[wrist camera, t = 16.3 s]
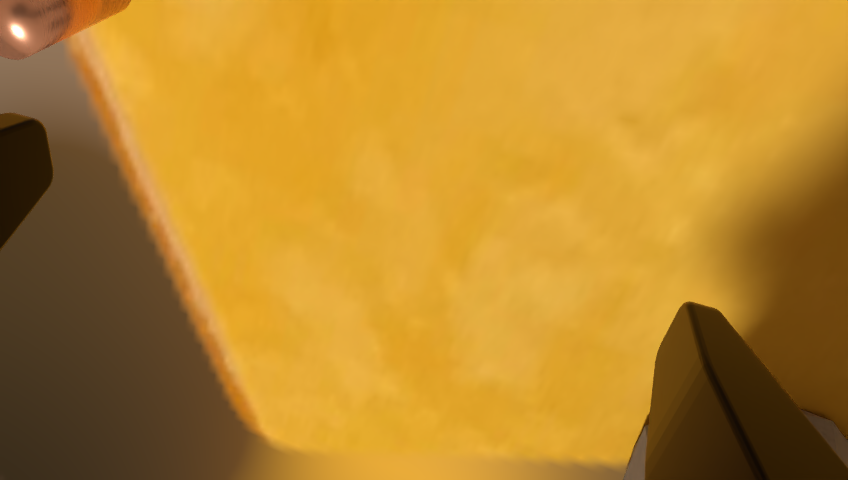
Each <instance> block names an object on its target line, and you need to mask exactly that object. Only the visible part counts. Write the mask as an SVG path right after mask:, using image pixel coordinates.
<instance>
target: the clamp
mask: <svg viewBox="0 0 848 480" xmlns="http://www.w3.org/2000/svg"><path fill="white" fill-rule="evenodd" d="M130 1H131V0H0V56H2V57H5V58H8V59H14V60H19V59H24V58H26V57H29V56H31V55H33V54H35V53H37V52H39V51H41V50H43V49H45V48H47V47H49V46H51V45H53V44H55V43H58V42H60V41H62V40H64V39H66V38H68V37H70V36H72V35H74V34H76V33H78V32H80V31H82V30H84V29H86V28H88V27H90V26H92V25H94V24H97V23H99V22H101V21H103V20H105V19H107V18H109V17H111V16H113V15H115V14H117V13H119V12H121V11H123V10H124V9H125V8H126V7H127V6H128V5H129V3H130Z"/></svg>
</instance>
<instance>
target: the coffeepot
mask: <svg viewBox="0 0 848 480" xmlns="http://www.w3.org/2000/svg"><path fill="white" fill-rule="evenodd" d="M800 410H801V409H800ZM801 411H802V412H803V413H804V415H805V416H806V417H807V418H808V419H809V421H810V422H811V423H812V424H813V426H814V427H815V428H816V429H817V430H818V432H819V433H820V434H821V435H822V437H823V438H824V439H825V440H826V441H827V443H828V444H829V445H830V446H831V448H832V449H833V450H834V451H835V452H836V454H837V455H838V456H839V457H840V459H841V460H842V461H843V462H844V463H845V465H846V466H847V467H848V440H847V439H846V438H845V437H844V436H843V435H842V433H841V432H840V431H839V429H838V428H837V426H836V425H835V423H834V422H833V421H831V420H828V419H826V418H823V417H820V416H818V415H815V414H812V413H809V412H807V411H804V410H801ZM648 426H649V425H646V426H645V427H644V429H643V431H642V434H641V436H640V438H639V439H638V441H637V443H636V445H635V446H634V448H633V452H632V457H631V461H630V463H629V466H628V468H627V471H626V473H625V476H624V478H623V480H645V457H646V446H647V436H648Z"/></svg>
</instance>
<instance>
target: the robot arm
mask: <svg viewBox="0 0 848 480" xmlns="http://www.w3.org/2000/svg"><path fill="white" fill-rule="evenodd" d="M53 173H54V170H53V164H52V158H51V153H50V148H49V142H48V137H47V132H46V128H45V127H44V125H43V124H42V123H41V122H40V121H39V120H37V119H34V118H30V117H27V116H23V115H20V114H16V113H4V114H0V251H1V249H2V248H3V247H4V246H5V244H6V243H7V242H8V240H9V239H10V238H11V236H12V235H13V234H14V233H15V231H16V230H17V228H18V227H19V226H20V225H21V224H22V222H23V221H24V220H25V218H26V217H27V216H28V214H29V213H30V212H31V211H32V209H33V208H34V207H35V205H36V204H37V203H38V202H39V200H40V199H41V198H42V196H43V195H44V194H45V192H46V191H47V190H48V188H49V187H50V185H51V183H52V180H53ZM645 480H848V467H847V466H846V465H845V463H844V462H843V461H842V460H841V459H840V457H839V456H838V455H837V454H836V452H835V451H834V450H833V449H832V448H831V446H830V445H829V444H828V443H827V441H826V440H825V439H824V438H823V437H822V435H821V434H820V433H819V432H818V430H817V429H816V428H815V427H814V426H813V424H812V423H811V422H810V421H809V419H808V418H807V417H806V416H805V415H804V413H803V412H802V411H801V410H800V408H799V407H798V406H797V405H796V404H795V402H794V401H793V400H792V399H791V398H790V396H789V395H788V394H787V393H786V391H785V390H784V389H783V388H782V387H781V385H780V384H779V383H778V382H777V380H776V379H775V378H774V377H773V376H772V374H771V373H770V372H769V371H768V369H767V368H766V367H765V366H764V365H763V363H762V362H761V361H760V360H759V358H758V357H757V356H756V355H755V354H754V352H753V351H752V350H751V349H750V347H749V346H748V345H747V344H746V343H745V341H744V340H743V339H742V338H741V336H740V335H739V334H738V333H737V332H736V330H735V329H734V328H733V327H732V326H731V324H730V323H729V322H728V321H727V319H726V318H725V317H724V316H723V315H722V313H721V312H720V311H719V310H717V309H715V308H712V307H708V306H704V305H701V304H697V303H694V302H686V303H684V304H683V305H682V306H681V307H680V308H679V310H678V312H677V314H676V316H675V318H674V320H673V322H672V323H671V325H670V327H669V329H668V331H667V333H666V335H665V337H664V339H663V341H662V343H661V345H660V347H659V350H658V353H657V356H656V361H655V369H654V379H653V388H652V398H651V407H650V417H649V426H648V436H647V446H646V457H645Z"/></svg>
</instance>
